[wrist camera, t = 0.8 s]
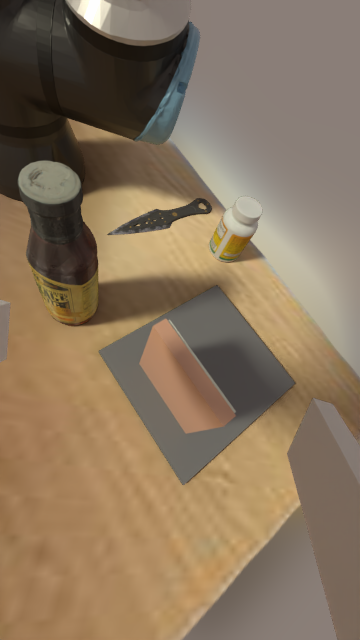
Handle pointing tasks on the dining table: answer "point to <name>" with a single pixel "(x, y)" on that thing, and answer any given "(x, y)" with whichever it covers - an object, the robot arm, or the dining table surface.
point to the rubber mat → (222, 365)
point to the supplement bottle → (235, 229)
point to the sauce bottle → (60, 242)
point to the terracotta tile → (184, 381)
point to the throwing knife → (161, 223)
